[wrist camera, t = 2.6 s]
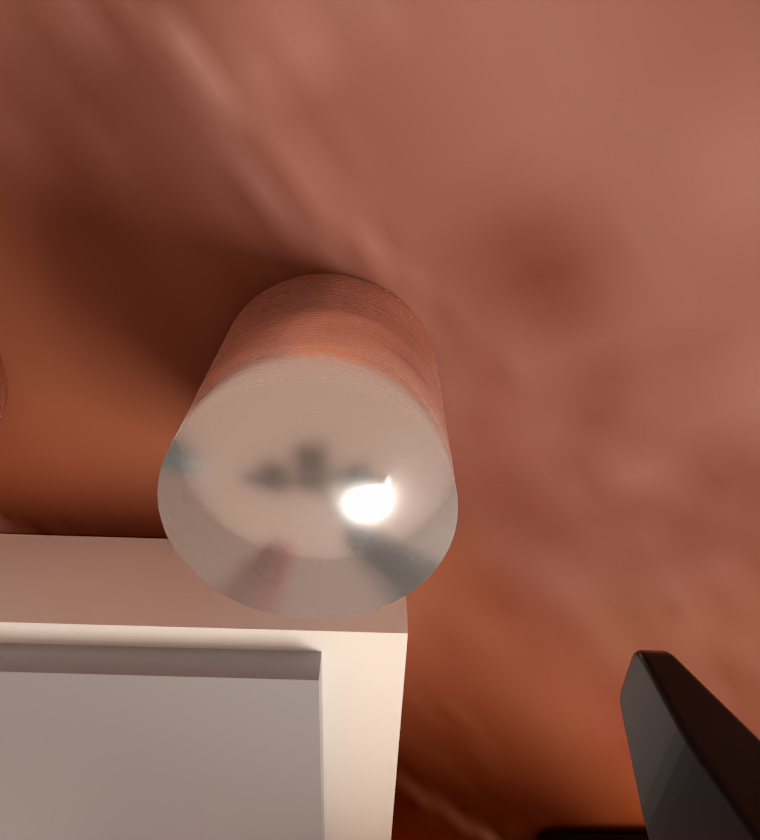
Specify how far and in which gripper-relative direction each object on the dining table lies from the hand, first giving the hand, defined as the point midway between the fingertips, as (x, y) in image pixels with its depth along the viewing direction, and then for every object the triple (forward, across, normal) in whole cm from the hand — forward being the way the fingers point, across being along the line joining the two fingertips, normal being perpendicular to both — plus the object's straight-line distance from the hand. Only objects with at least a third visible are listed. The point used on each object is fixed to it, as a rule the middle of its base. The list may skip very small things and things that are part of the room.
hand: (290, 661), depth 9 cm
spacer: (+8, 0, 0) cm, 8 cm away
